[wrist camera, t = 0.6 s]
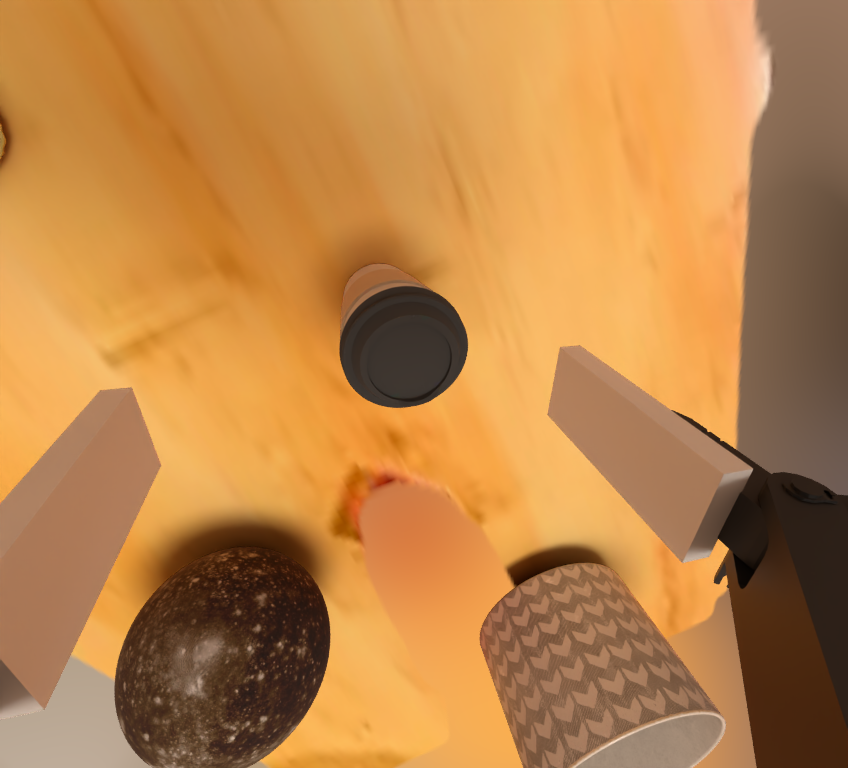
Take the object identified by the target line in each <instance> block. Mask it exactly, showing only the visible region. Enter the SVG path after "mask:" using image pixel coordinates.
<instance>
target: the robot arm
mask: <svg viewBox="0 0 848 768" xmlns="http://www.w3.org/2000/svg"><path fill="white" fill-rule="evenodd" d="M548 416H549V417H550V418H551V419H552V420H553V421H554V422H555V424H556V425H557V426H558V427H559V428H560V429H561V430H562V431H563V432H564V433H565V435H566V436H567V437H568V438H569V439H570V440H571V441H572V442H573V443H574V444H575V446H576V447H577V448H578V449H579V450H580V451H581V452H582V453H583V454H584V455H585V457H586V458H587V459H588V460H589V461H590V462H591V463H592V464H593V465H594V466H595V467H596V469H597V470H598V471H599V472H600V473H601V474H602V475H603V476H604V477H605V478H606V480H607V481H608V482H609V483H610V484H611V485H612V486H613V487H614V488H615V489H616V491H617V492H618V493H619V494H620V495H621V496H622V497H623V498H624V499H625V500H626V502H627V503H628V504H629V505H630V506H631V507H632V508H633V509H634V510H635V511H636V513H637V514H638V515H639V516H640V517H641V518H642V519H643V520H644V521H645V522H646V524H647V525H648V526H649V527H650V528H651V529H652V530H653V531H654V532H655V533H656V534H657V536H658V537H659V538H660V539H661V540H662V541H663V542H664V543H665V544H666V545H667V547H668V548H669V549H670V550H671V551H672V552H673V553H674V554H675V555H676V556H677V558H678V559H679V560H680V561H681V562H682V563H684V562H689V561H693V560H697V559H702V558H706V557H709V556H710V554H711V552H712V550H713V548H714V546H715V544H716V542H717V540H718V539H719V540H720V541H721V542H723V543H724V544H725V545H726V546H727V547H728V548H729V550H728V552H727V554H726V556H725V558H724V560H723V562H722V563H721V565H720V567H719V569H718V571H717V573H716V575H715V578H714V583H716V584H720V582H721V580H722V578H723V577H724V576H726V575H727V579H728V585H727V588H729V592H730V598H731V605H732V611H733V618H734V624H735V630H736V637H737V643H738V650H739V656H740V662H741V669H742V675H743V682H744V688H745V695H746V701H747V708H748V714H749V721H750V726H751V733H752V740H753V746H754V753H755V759H756V766H757V768H848V496H846V495H837V494H835V493H834V492H833V491H831V490H830V489H828V488H827V487H825V486H824V485H822V484H820V483H818V482H816V481H814V480H812V479H809V478H806V477H803V476H800V475H797V474H791V473H785V472H780V473H773V474H770V473H769V472H767V471H766V470H765V469H763V468H762V467H760V466H759V465H757V464H756V463H755V462H753V461H752V460H750V459H749V458H747V457H746V456H744V455H743V454H741V453H740V452H739V451H737V450H736V449H734V448H733V447H731V446H730V445H729V444H727V443H726V442H724V441H720V438H719V437H717V436H716V435H714V434H713V433H711V432H707V429H706V428H704V427H703V426H701V425H700V424H698V423H697V422H695V421H694V420H693V419H691V418H689V417H687V416H684V415H682V414H680V413H677V412H675V411H673V410H670V409H669V408H667V407H666V406H664V405H663V404H662V403H660V402H659V401H657V400H656V399H655V398H653V397H652V396H650V395H649V394H648V393H646V392H645V391H643V390H642V389H640V388H639V387H638V386H636V385H635V384H633V383H632V382H631V381H629V380H628V379H626V378H625V377H624V376H622V375H621V374H619V373H618V372H617V371H615V370H614V369H612V368H611V367H609V366H608V365H607V364H605V363H604V362H602V361H601V360H600V359H598V358H597V357H595V356H594V355H593V354H591V353H590V352H588V351H587V350H586V349H584V348H583V347H581V346H569V347H560V350H559V355H558V361H557V366H556V372H555V377H554V382H553V388H552V393H551V399H550V404H549V410H548ZM160 467H161V464H160V461H159V458H158V456H157V453H156V450H155V448H154V445H153V442H152V440H151V437H150V434H149V432H148V429H147V426H146V424H145V421H144V419H143V416H142V413H141V411H140V408H139V405H138V403H137V400H136V397H135V395H134V392H133V389H132V388H121V389H110V390H100V391H99V393H98V394H97V395H96V396H95V397H94V398H93V399H92V401H91V402H90V403H89V404H88V405H87V406H86V407H85V408H84V410H83V411H82V412H81V413H80V414H79V415H78V416H77V417H76V419H75V420H74V421H73V422H72V423H71V424H70V425H69V427H68V428H67V429H66V430H65V431H64V432H63V433H62V434H61V436H60V437H59V438H58V439H57V440H56V441H55V442H54V444H53V445H52V446H51V447H50V448H49V449H48V450H47V451H46V453H45V454H44V455H43V456H42V457H41V458H40V459H39V460H38V462H37V463H36V464H35V465H34V466H33V467H32V468H31V470H30V471H29V472H28V473H27V474H26V475H25V476H24V477H23V479H22V480H21V481H20V482H19V483H18V484H17V485H16V487H15V488H14V489H13V490H12V491H11V492H10V493H9V494H8V496H7V497H6V498H5V499H4V500H3V501H2V502H1V503H0V720H2V719H7V718H11V717H16V716H20V715H24V714H29V713H33V712H37V711H42V710H44V709H45V708H46V705H47V703H48V701H49V699H50V697H51V695H52V693H53V691H54V689H55V687H56V684H57V683H58V680H59V678H60V676H61V674H62V672H63V670H64V668H65V666H66V664H67V662H68V659H69V657H70V655H71V653H72V651H73V649H74V647H75V645H76V643H77V641H78V638H79V636H80V634H81V632H82V630H83V628H84V626H85V624H86V622H87V620H88V618H89V615H90V613H91V611H92V609H93V607H94V605H95V603H96V601H97V599H98V597H99V594H100V592H101V590H102V588H103V586H104V584H105V582H106V580H107V578H108V576H109V573H110V571H111V569H112V567H113V565H114V563H115V561H116V559H117V557H118V555H119V553H120V550H121V548H122V546H123V544H124V542H125V540H126V538H127V536H128V534H129V532H130V529H131V527H132V525H133V523H134V521H135V519H136V517H137V515H138V513H139V511H140V508H141V506H142V504H143V502H144V500H145V498H146V496H147V494H148V492H149V490H150V488H151V485H152V483H153V481H154V479H155V477H156V475H157V473H158V471H159V469H160Z"/></svg>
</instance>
